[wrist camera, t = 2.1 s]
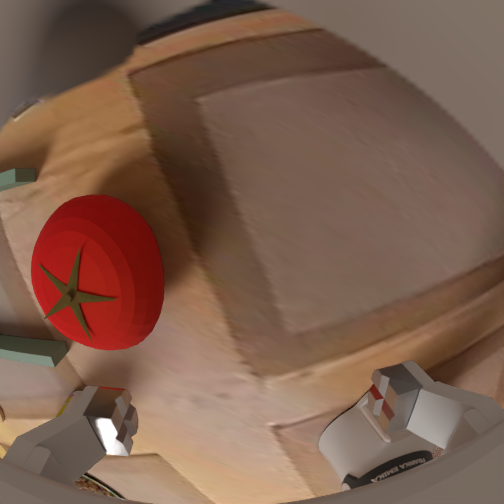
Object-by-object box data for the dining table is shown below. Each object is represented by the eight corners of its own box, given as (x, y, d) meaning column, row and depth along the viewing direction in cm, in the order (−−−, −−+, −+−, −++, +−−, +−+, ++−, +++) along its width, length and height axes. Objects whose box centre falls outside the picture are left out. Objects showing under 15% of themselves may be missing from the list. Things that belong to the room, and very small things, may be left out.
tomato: (54, 211, 27) (-6, 223, 17) (155, 178, 27) (116, 174, 17) (90, 328, 30) (49, 375, 20) (189, 312, 30) (172, 368, 20)
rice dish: (111, 468, 38) (104, 488, 32) (145, 525, 43) (142, 540, 37) (9, 435, 36) (-1, 448, 30) (54, 499, 41) (49, 511, 35)
